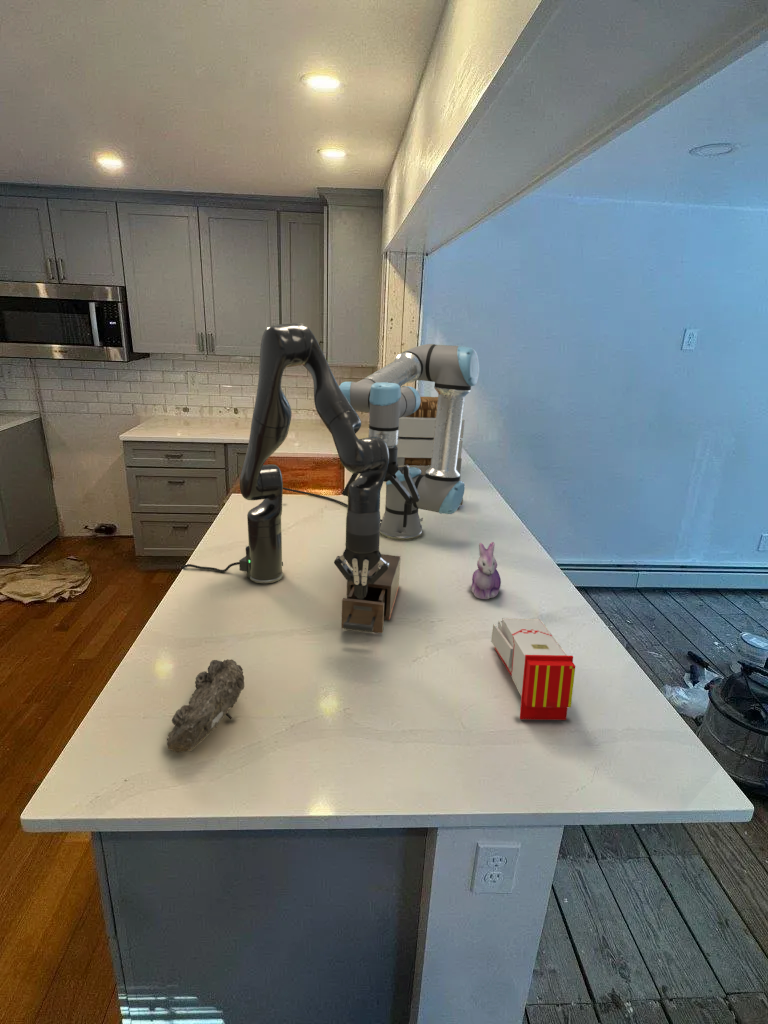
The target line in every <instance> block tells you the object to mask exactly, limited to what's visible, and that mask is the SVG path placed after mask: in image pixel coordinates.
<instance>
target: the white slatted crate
mask: <svg viewBox="0 0 768 1024" xmlns="http://www.w3.org/2000/svg"><path fill="white" fill-rule="evenodd" d="M420 399H421V402H420V406H419V408H418V409H417V411H415V412H414V413H412V414H411V415H408V416H404V417H401V418H399V434H398V444H397V445H396V446H397V448H398V452H397V464H398V466H405V465H406V464H408V465H409V467H410V466H411V467H417V466H418V467H430V466H431V458H432V448H433V439H434V430H435V420H436V411H437V402H438V396H420ZM464 429H465V419H464V418H462V426H461V434H460V442H459V451H458V459H457V467H456V470H457V471H458V472H459V474H460V475H461V472H462V461H463V460H462V453H463V442H464V441H463V440H462V439H463V438H464V431H465V430H464Z"/></svg>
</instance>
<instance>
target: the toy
mask: <svg viewBox="0 0 768 1024" xmlns="http://www.w3.org/2000/svg"><path fill="white" fill-rule="evenodd" d="M490 638H491V639H490V642H491V644H492V646H493V647H494V650H495V652H496V654H497V655H498V657H499V659H500V660H501V662H502V664H503V666H504V667H505V669H506V671H507V672H508V674H509V676H510V677H511V679H512V681H513V683H514V685H515V688H516V690H517V691H518V693H519V695H520V697H521V698H520V710H519V719H520V720H534V721H535V720H539V721H567V716H568V708H572V701H573V692H574V684H575V674H576V673H575V672H576V665H575V663H574V656H573V655H568V654H567V653H566V652H565V650H564V649H563V648H562V646H561V645H560V644H559V643H558V641H557V640H556V639H555V637H554V636H553V634H552V633H551V632H550V631H549V629H548V628H547V626H546V624H545V623H543V621H542V620H541V619H540V618H505V617H503V618H501V620H498V622H497V624H495V623H493V624H492V632H491V637H490Z"/></svg>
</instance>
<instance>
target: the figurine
mask: <svg viewBox="0 0 768 1024" xmlns="http://www.w3.org/2000/svg"><path fill="white" fill-rule="evenodd" d="M478 550H479V558H478V560H477V563H476V566H477V569H476V570H475V571H473V574H472V577H471V587H470V588H471V589H470V590H471V593H472V594H473V595H474V597H475V598H477V599H481V600H489V599H490V598H492V599H493V598H495V597H497V596H498V594H499V592H500V588H501V586H502V585H501V584H502V580H501V575H500V573H499V570H498V569H497V568H498V562H497V560H496V557H495V555H494V551H495V542H494V541H491V542H490V543H489V545H488V546H487V548H486V547H485V545H484V544H483V543H482V542H479V544H478Z"/></svg>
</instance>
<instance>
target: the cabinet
mask: <svg viewBox="0 0 768 1024" xmlns="http://www.w3.org/2000/svg"><path fill="white" fill-rule="evenodd" d="M381 558H382V559H383V560H384V561H388V562H389V563H390V564H389V567H388V570H387V571H386V572H385V573H384V574H383V575H382V576H381V577H380V578H379V579H378V580H377V581H376V582H375V583H374V584H368V587H374V588H383V589H387V602H386V609H385V613H384V621H390V619H391V616H392V613H393V610H394V606H395V602H396V599H397V596H398V591H399V588H400V571H401V555H392V554H382V553H381ZM378 565H379V563H377V564H376V565H375V566H374V567H373V568H372V569H371V570H370V572H369V576H371V575H372V574H373V573H374V572H375V571H376V570H377V569H378ZM351 571H352V572H353V569H352V570H351ZM361 581H362V570H361ZM353 585H354V583H353V582H351V581H347V580H346V598H348V596H349V593H350V591H351V589H352V587H353Z"/></svg>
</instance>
